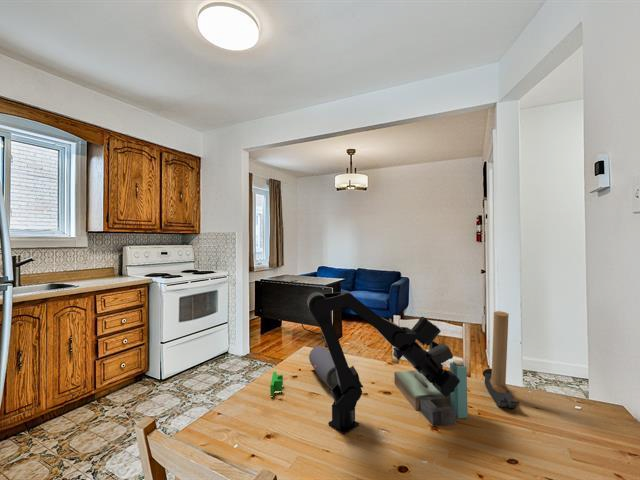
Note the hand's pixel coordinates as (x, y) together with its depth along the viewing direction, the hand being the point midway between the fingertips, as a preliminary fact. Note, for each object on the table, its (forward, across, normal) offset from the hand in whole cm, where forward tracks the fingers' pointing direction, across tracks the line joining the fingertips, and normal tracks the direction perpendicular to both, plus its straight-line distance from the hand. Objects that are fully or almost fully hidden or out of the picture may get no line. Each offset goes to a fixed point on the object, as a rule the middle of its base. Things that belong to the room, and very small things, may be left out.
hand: (453, 390), depth 92 cm
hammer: (+21, +8, -9) cm, 24 cm away
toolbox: (+2, +9, +8) cm, 12 cm away
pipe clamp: (-33, +25, +43) cm, 59 cm away
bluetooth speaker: (-19, +30, +30) cm, 47 cm away
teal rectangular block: (+6, 0, +4) cm, 8 cm away
